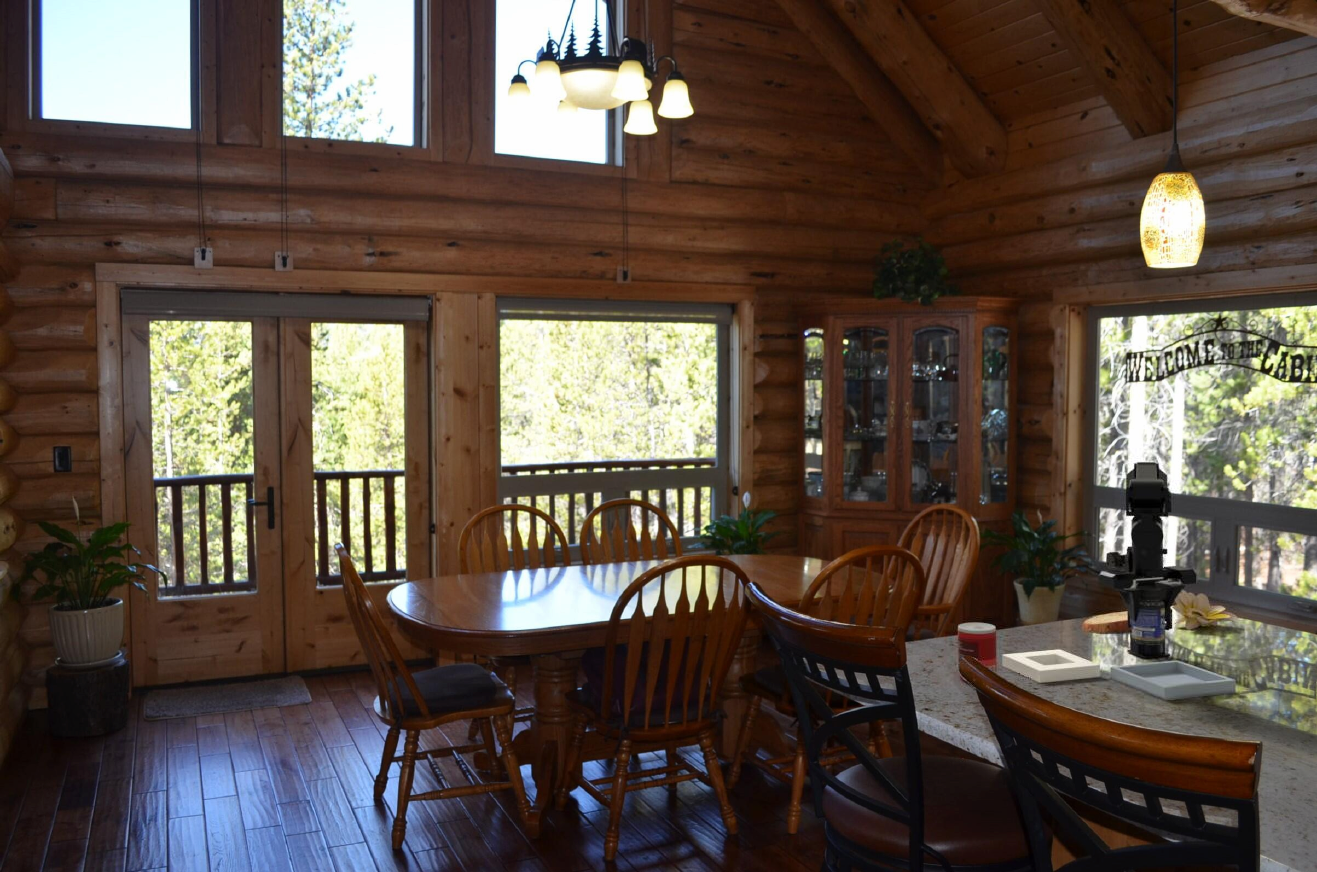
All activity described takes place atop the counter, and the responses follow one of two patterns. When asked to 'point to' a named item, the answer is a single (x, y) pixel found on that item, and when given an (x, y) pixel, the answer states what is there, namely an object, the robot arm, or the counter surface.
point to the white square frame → (1051, 665)
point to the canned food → (978, 643)
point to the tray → (1172, 680)
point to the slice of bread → (1107, 623)
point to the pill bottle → (1149, 617)
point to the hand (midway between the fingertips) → (1148, 619)
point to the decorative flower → (1199, 611)
